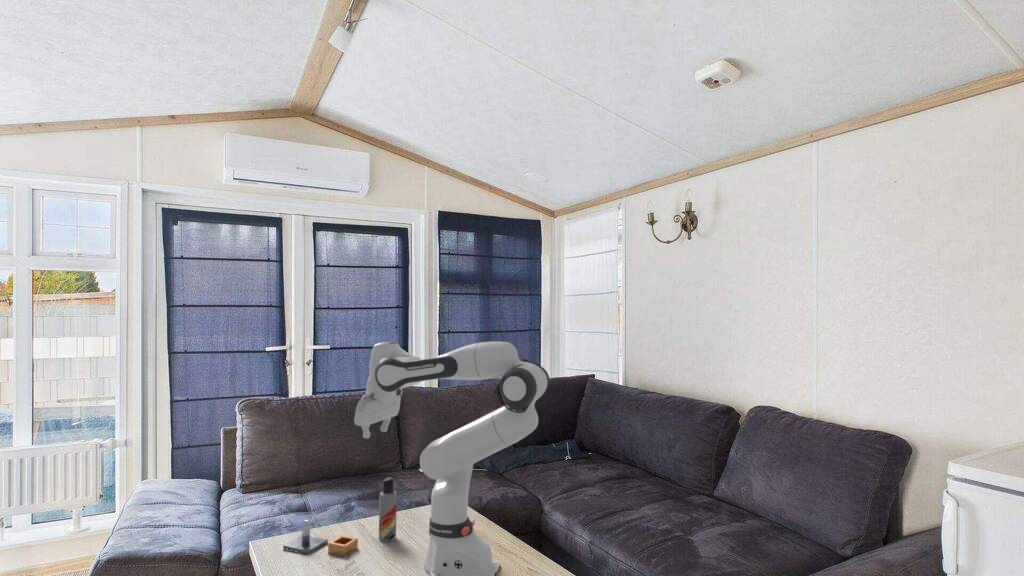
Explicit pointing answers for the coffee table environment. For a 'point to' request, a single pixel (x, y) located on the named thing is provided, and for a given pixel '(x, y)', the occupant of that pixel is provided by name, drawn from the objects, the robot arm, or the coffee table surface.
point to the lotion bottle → (387, 511)
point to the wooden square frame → (343, 545)
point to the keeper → (306, 541)
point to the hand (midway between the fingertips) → (375, 434)
